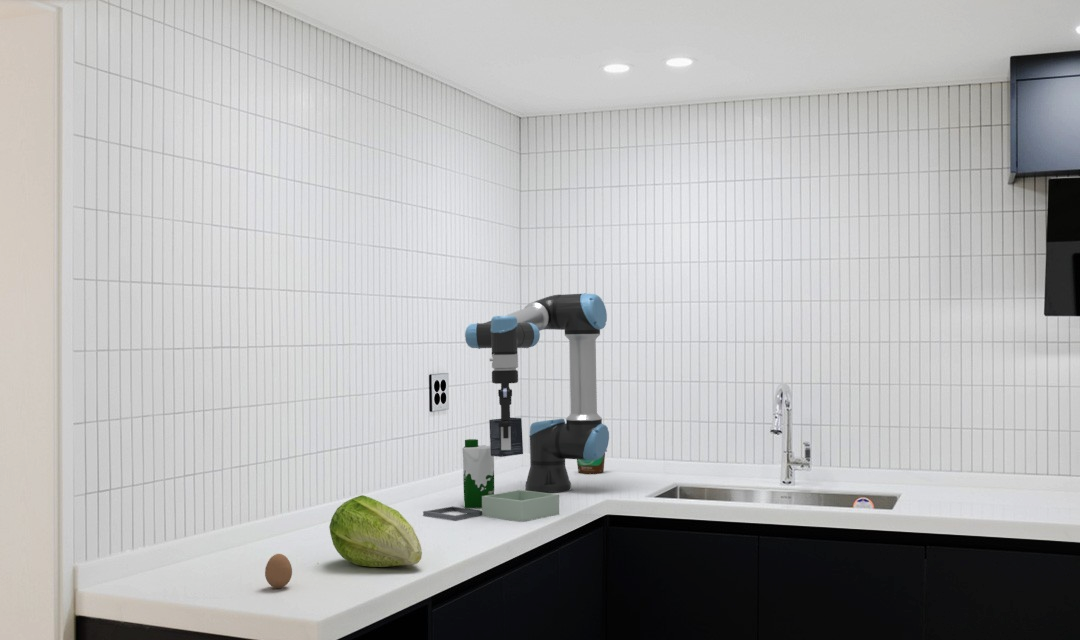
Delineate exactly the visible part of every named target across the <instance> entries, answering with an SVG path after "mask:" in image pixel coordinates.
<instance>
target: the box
mask: <svg viewBox="0 0 1080 640" xmlns="http://www.w3.org/2000/svg"><path fill="white" fill-rule="evenodd" d="M522 421H523V420H522V417H511V418H510V429H511V450H501V427H499V424H501V418H496V419H495V418H493V419H489V420H488V422H489V423H488V425H489V440H490V441H489V444H490V445H489V446H490V449H491V456H494V457H496V458H497V457H499V458H501V457H502V458H503V457H504V458H505V457H511V456H512V457H513V456H519V455H520V456H521V455H524V443H523V440H524V439H523V425H522V424H523V422H522Z"/></svg>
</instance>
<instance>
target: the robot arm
mask: <svg viewBox="0 0 1080 640" xmlns="http://www.w3.org/2000/svg"><path fill="white" fill-rule="evenodd" d="M607 319H608V314H607V309H606V305H605V303H604V301H603V299H602V297H600V296H599V295H598V294H596V293H586V292H585V293H571V294H569V293H568V294H567V293H566V294H554V295H549V296H546V297H544V298H540V299H537V300H535V301H532V302H529V303H528V304H526V305H525V306H524V308H523V309H520V310H517V311H514V312H511V313H508V314H506V315H495V316H492V318H491V320H488V321H486V322H483V323H479V322H477V323H471V324H469V325H468V326H467V327H466V329H465V332H464V338H465V342H466V345H467V346H468V347H470V348H471V349H478V350H480V349H491V357H489V362H491V368H492V369H493V370H492V371H491V383H493V384H497V385H498V384H500V387H501V388H500V389H498V390H497V391H498V393H497V394H498V399H499V400H498V401H499V403H498V404H499V405H500V419H501V424H499V427H501V450H511V429H510V418H512V417H511V405H512V397H513V389H512V388H510V384H517V383H518V382H519V371H518V370H517V368H519V355H518V349H529V348H532V347H534V346H536V345H537V344H538V343H539V341H540V337H541V333H540V332H541V331H542V330H557V331H558V330H561V331H562V330H563V331H564V336H565V338H567V339H568V340H569V341H568V342H569V381H570V382H569V383H570V385H569V386H570V387H569V389H570V391H569V392H570V395H569V396H570V397H569V399H570V413H569V415H568V416H567V417H566V418H565V419H564V418H558V419H549V420H541V421H535V422H532V423H531V424H530V427H529V454H530V455H529V457H530V458H529V459H530V464H529V465H530V466H529V470H528V474H527V476H526V477H527V478H526V480H525V491H533V492H541V493H562V492H567V491H571V490H572V482H571V480H570V477H569V474H568V470H567V467H566V460H577V459H581V460H597V459H600V458H601V457H602V456H603V455H604V454H605V455H606V452H605V451H606V449H607V450H608V445H609V443H610V441H609V440H610V431H609V429H608V426H607V425H606V424H604V423H602V421H603V419H602V416H600V415H599V413H598V402H597V401H598V399H597V397H598V395H597V393H598V392H597V349H596V348H597V342H596V340H597V338H599V337H600V335H601V330H602V329H604V328H605V327H606V325H607ZM565 420H566V421H565Z"/></svg>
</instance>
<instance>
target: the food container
mask: <svg viewBox="0 0 1080 640" xmlns="http://www.w3.org/2000/svg"><path fill="white" fill-rule="evenodd" d="M606 452H608V448H607V449H606V451H605V454H604V455H603V456H602V457H601V458H600V459H597V460H581V459H576V463H577V472H578V474H580V475H581V474H582V475H598V474H599V475H600V474H604V473H605V472H604V470H605V459H606V457H605V456H606Z"/></svg>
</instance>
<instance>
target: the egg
mask: <svg viewBox="0 0 1080 640" xmlns="http://www.w3.org/2000/svg"><path fill="white" fill-rule="evenodd" d="M292 575H293V567H292V564H291V562H290V560H289V559H288V557H287V556H286V555H284V554H283V553H276V554H273V555H272V556H271V557H270V558H269V560H268V561H267V563H266V565H265V569H264V577H265V579H266V581H267V583H268V584H269V585H270V586H271V587H272V588H274V589H282V588H284V587H286V586H287V585H288V584H289V582H290V581H291V579H292Z"/></svg>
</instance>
